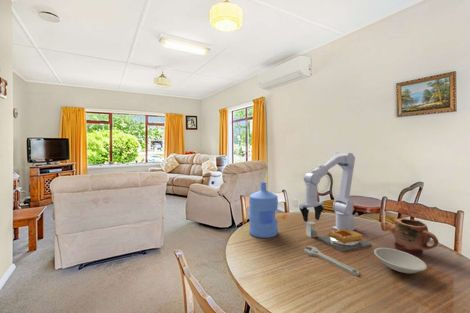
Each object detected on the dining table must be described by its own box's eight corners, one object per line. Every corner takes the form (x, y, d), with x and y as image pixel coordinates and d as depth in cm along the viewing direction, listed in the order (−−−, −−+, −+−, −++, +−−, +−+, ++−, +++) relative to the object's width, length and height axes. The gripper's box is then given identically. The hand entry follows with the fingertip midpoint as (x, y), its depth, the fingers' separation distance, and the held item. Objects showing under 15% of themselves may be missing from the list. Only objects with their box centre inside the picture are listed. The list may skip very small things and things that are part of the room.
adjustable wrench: (360, 275, 85) (360, 271, 85) (349, 280, 82) (349, 275, 82) (310, 248, 107) (310, 244, 107) (300, 251, 104) (300, 247, 104)
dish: (364, 261, 94) (364, 249, 94) (392, 257, 97) (392, 245, 97) (406, 287, 77) (406, 272, 77) (437, 280, 80) (438, 266, 80)
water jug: (243, 233, 125) (243, 183, 124) (260, 225, 137) (260, 179, 136) (266, 241, 115) (266, 186, 113) (283, 232, 126) (283, 182, 125)
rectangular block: (311, 233, 124) (311, 221, 124) (316, 236, 120) (317, 223, 120) (305, 234, 123) (305, 222, 122) (310, 237, 119) (310, 224, 119)
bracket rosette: (344, 233, 123) (344, 225, 123) (371, 245, 108) (371, 236, 108) (317, 239, 117) (318, 230, 117) (342, 252, 102) (343, 242, 102)
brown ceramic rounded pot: (448, 261, 94) (449, 228, 93) (429, 267, 89) (430, 232, 89) (399, 242, 112) (399, 214, 112) (381, 246, 108) (381, 217, 108)
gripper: (317, 192, 127) (317, 216, 128) (295, 194, 122) (295, 219, 122) (326, 195, 120) (326, 220, 121) (304, 197, 115) (303, 224, 116)
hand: (311, 220), depth 121 cm, fingers open, 7 cm apart
